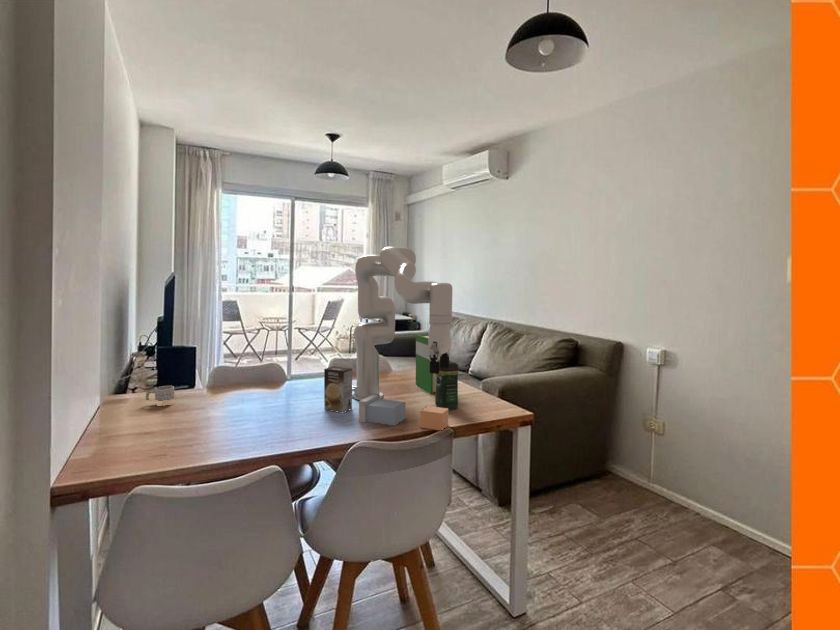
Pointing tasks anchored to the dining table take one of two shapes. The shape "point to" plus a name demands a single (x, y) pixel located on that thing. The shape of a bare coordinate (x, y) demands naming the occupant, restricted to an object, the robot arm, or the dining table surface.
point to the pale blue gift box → (381, 410)
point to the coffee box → (338, 388)
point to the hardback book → (424, 365)
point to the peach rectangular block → (434, 418)
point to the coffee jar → (447, 387)
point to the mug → (162, 393)
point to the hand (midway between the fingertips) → (439, 370)
